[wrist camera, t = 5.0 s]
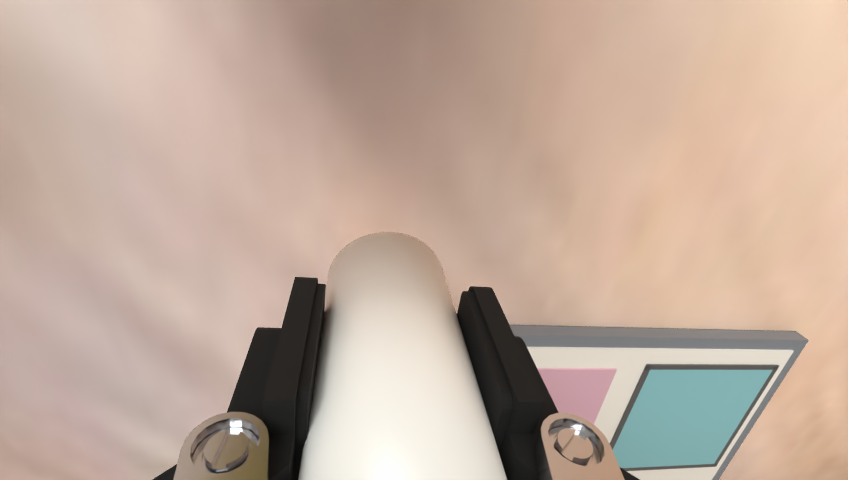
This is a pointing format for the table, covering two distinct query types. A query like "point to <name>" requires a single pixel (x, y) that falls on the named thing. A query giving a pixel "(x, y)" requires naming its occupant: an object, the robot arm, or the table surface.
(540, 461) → the robot arm
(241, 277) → the table surface
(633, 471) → the picture board
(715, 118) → the table surface
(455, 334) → the marker
